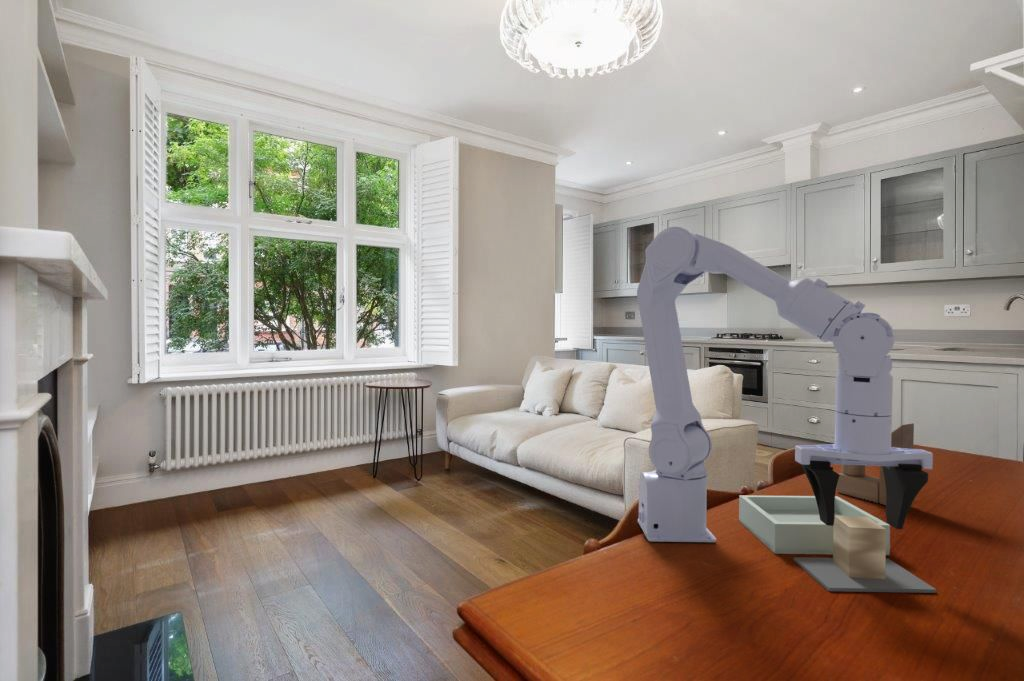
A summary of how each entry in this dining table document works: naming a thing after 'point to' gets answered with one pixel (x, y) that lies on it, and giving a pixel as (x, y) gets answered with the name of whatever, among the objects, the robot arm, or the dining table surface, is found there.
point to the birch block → (859, 547)
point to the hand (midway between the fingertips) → (860, 524)
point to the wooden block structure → (868, 486)
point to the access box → (795, 523)
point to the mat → (839, 581)
